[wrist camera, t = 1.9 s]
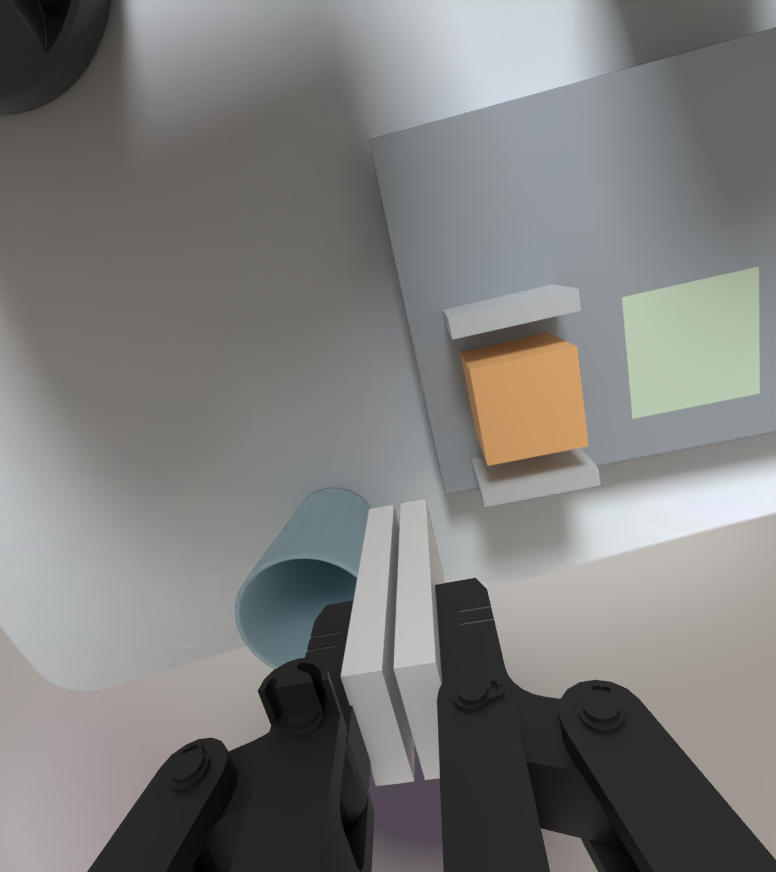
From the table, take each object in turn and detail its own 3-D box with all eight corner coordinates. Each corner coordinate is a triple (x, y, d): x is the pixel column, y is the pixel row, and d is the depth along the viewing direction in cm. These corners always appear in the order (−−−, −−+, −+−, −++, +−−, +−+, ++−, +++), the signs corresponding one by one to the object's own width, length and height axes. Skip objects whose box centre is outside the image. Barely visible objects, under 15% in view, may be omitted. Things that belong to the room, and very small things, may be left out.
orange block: (460, 352, 29) (469, 369, 24) (549, 332, 28) (577, 346, 24) (475, 434, 30) (487, 466, 26) (560, 417, 30) (588, 446, 25)
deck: (372, 151, 29) (360, 115, 21) (920, 2, 25) (1118, -98, 18) (442, 475, 35) (450, 530, 28) (891, 387, 31) (1031, 424, 24)
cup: (401, 484, 35) (396, 572, 25) (380, 578, 37) (368, 691, 28) (292, 462, 35) (244, 542, 25) (278, 557, 37) (229, 664, 27)
